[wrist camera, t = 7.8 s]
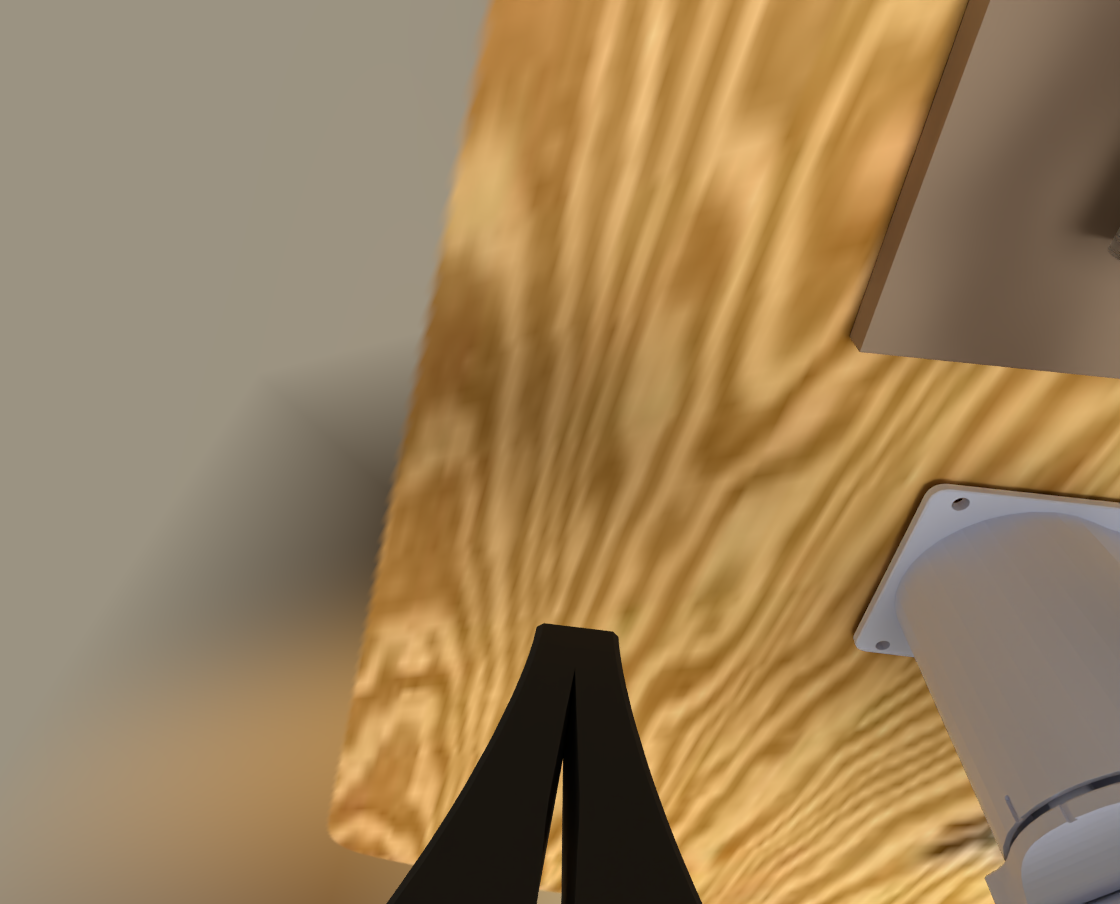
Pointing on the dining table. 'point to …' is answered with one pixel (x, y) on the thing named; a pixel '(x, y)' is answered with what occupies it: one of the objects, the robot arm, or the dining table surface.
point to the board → (1011, 200)
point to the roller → (1115, 246)
